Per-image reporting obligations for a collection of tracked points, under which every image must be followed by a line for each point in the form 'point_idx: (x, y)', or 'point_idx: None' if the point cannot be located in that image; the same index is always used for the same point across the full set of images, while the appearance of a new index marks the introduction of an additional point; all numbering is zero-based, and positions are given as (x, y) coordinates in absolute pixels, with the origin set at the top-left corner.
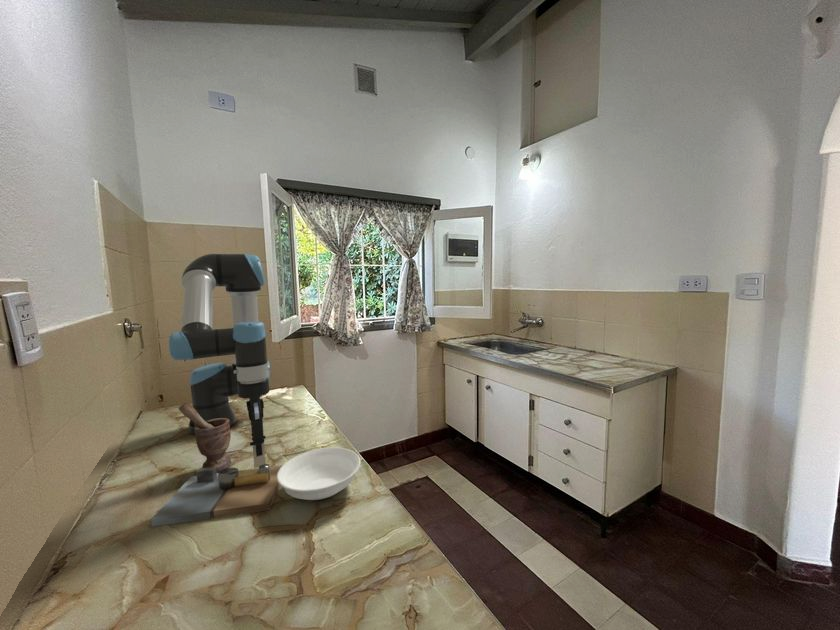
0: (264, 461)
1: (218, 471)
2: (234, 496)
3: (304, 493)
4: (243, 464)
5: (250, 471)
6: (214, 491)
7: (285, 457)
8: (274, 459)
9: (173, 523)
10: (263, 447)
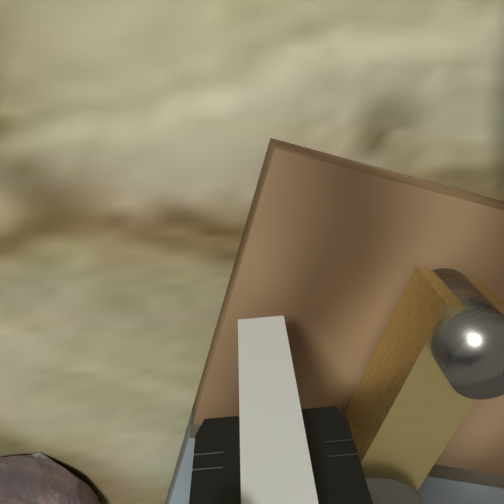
0: (287, 340)
1: (95, 495)
2: (492, 426)
3: None
4: (40, 396)
5: (407, 419)
6: None
7: (22, 131)
8: (31, 218)
9: None
10: (307, 449)
